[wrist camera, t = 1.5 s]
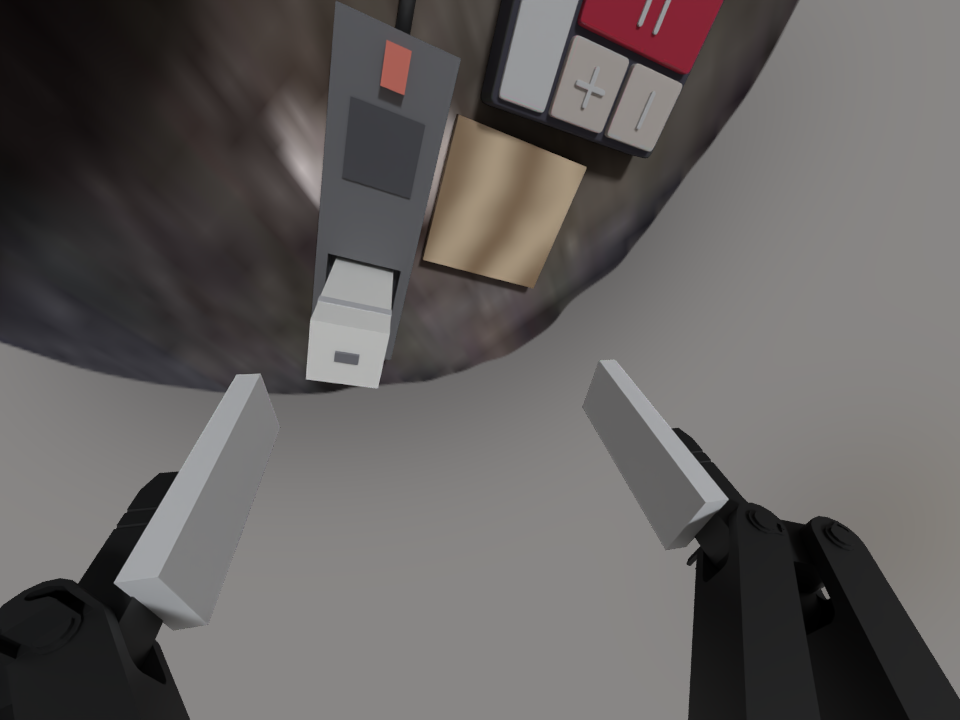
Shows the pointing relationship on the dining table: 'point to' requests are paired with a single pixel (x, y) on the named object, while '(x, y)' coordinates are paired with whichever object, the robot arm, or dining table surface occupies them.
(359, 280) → the block
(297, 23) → the dining table surface
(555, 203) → the wooden board
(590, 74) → the calculator
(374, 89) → the grey handheld radio
